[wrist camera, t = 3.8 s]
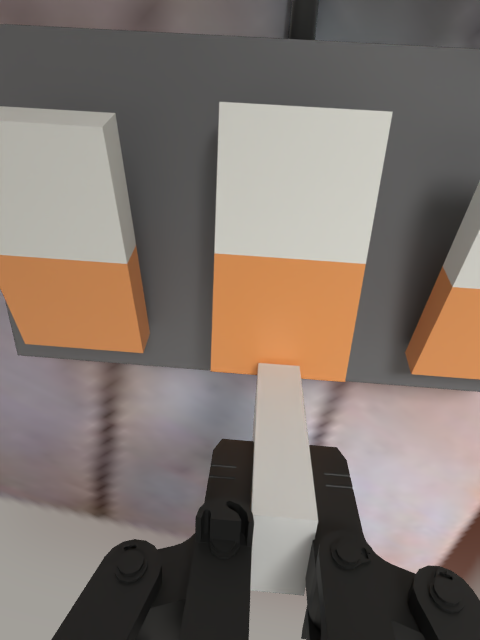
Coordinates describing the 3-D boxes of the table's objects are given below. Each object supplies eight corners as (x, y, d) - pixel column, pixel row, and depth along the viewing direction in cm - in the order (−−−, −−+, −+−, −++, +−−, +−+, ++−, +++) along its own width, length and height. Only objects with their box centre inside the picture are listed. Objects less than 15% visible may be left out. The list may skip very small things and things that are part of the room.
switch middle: (225, 106, 14) (219, 101, 12) (376, 115, 14) (392, 111, 12) (216, 347, 18) (210, 371, 16) (336, 356, 18) (344, 381, 16)
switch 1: (-37, 95, 13) (-78, 116, 12) (123, 104, 13) (102, 127, 11) (45, 312, 19) (25, 343, 18) (154, 320, 19) (143, 353, 18)
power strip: (-47, -283, 14) (-160, -418, 10) (734, -262, 13) (913, -401, 9) (55, 316, 24) (17, 355, 20) (495, 349, 23) (537, 396, 19)
